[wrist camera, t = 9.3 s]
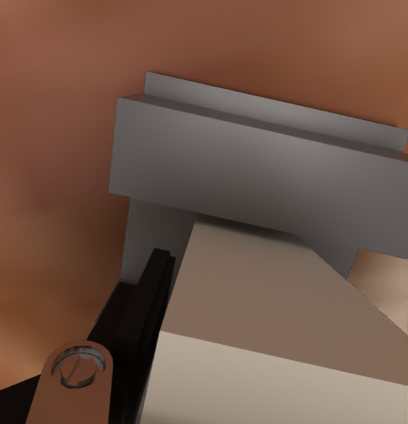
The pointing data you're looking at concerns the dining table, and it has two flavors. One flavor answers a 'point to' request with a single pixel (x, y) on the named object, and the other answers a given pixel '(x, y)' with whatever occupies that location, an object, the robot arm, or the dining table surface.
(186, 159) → the grey blocky pieces
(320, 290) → the cream plug
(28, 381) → the robot arm
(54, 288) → the dining table surface
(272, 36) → the dining table surface
